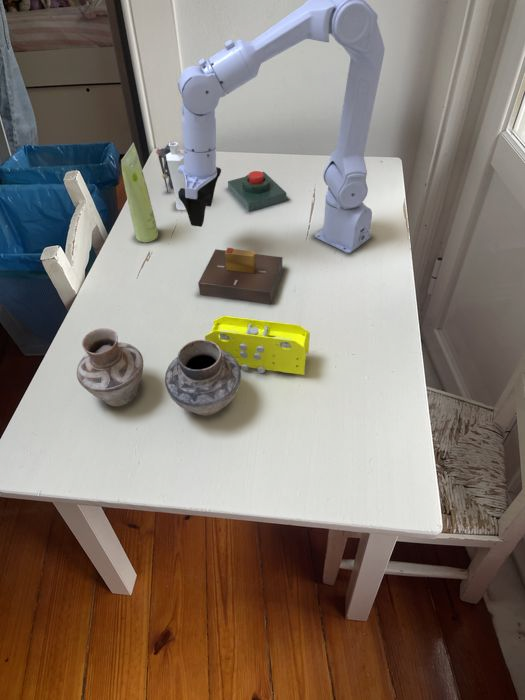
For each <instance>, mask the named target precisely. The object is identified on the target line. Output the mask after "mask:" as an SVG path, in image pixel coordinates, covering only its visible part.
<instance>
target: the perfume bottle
mask: <svg viewBox="0 0 525 700" xmlns="http://www.w3.org/2000/svg"><path fill="white" fill-rule="evenodd" d="M170 142H171V143H170ZM170 142H169V143H168V144H169V146H170V153H168V154H166V159H167V163H168V168H169V172H170V176H171V180H172V184H173V188H174V189H173V191H174V195H175V207H176V210H178V211H187V210H186V208H185V206H184V204H183V203H182V201H181V200H180V199H179V196H178V192H179V190H180V188H185V187H186V183H185V178H184V174H183V173H179V172H178V168H179V166H180V165H184V152H181V151H180V150H179V143H178V142H176V141H170ZM179 151H180V152H179Z"/></svg>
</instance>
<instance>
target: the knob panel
mask: <svg viewBox="0 0 525 700" xmlns="http://www.w3.org/2000/svg"><path fill="white" fill-rule="evenodd" d="M226 250H227V249H226ZM226 250H224V249H217V248H215V249H214V251H213V253H212V255H211V257H210V259H209V261H208V263H207V265H206V267H205V269H204V271H203V272H202V275H201V277H200V279H199V280H198V282H197V283H198V289H199V295H200V296H207V297H212V298H213V297H214V298H221V299H228V300H236V301H243V302H250V303H258V304H265V305H271V304H272V301H273V299H274V296H275V293H276V291H277V290H276V289H277V287H278V284H279V280H280V278H281V275H282V272H283V257H282V256H276V255H275V256H274V255H268V254H267V255H266V254H259V253H255V257H256V270H255V272H254V273H246V272H238V271H230V270H227V268H226V258H225V252H226Z"/></svg>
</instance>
